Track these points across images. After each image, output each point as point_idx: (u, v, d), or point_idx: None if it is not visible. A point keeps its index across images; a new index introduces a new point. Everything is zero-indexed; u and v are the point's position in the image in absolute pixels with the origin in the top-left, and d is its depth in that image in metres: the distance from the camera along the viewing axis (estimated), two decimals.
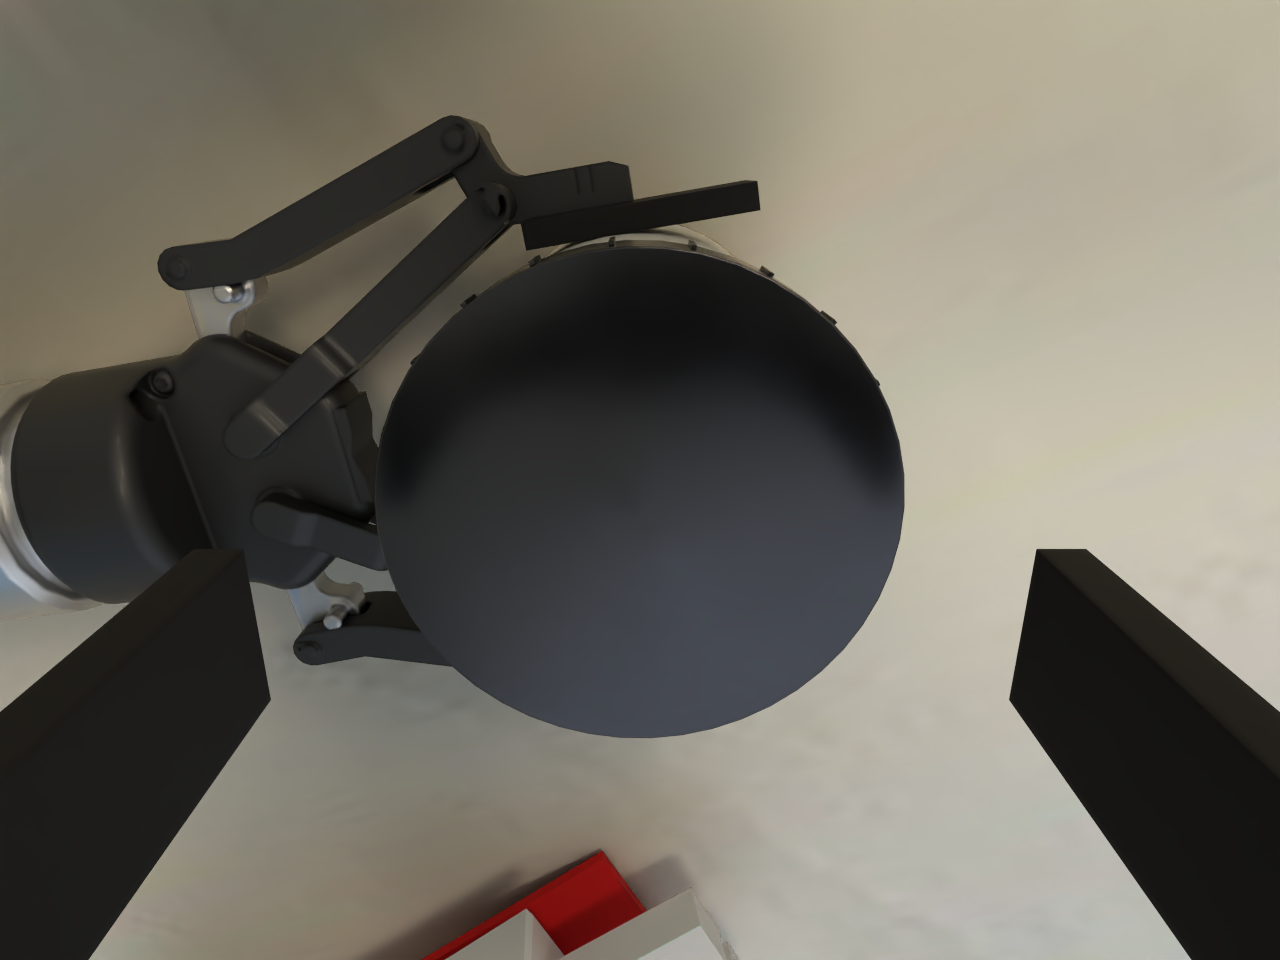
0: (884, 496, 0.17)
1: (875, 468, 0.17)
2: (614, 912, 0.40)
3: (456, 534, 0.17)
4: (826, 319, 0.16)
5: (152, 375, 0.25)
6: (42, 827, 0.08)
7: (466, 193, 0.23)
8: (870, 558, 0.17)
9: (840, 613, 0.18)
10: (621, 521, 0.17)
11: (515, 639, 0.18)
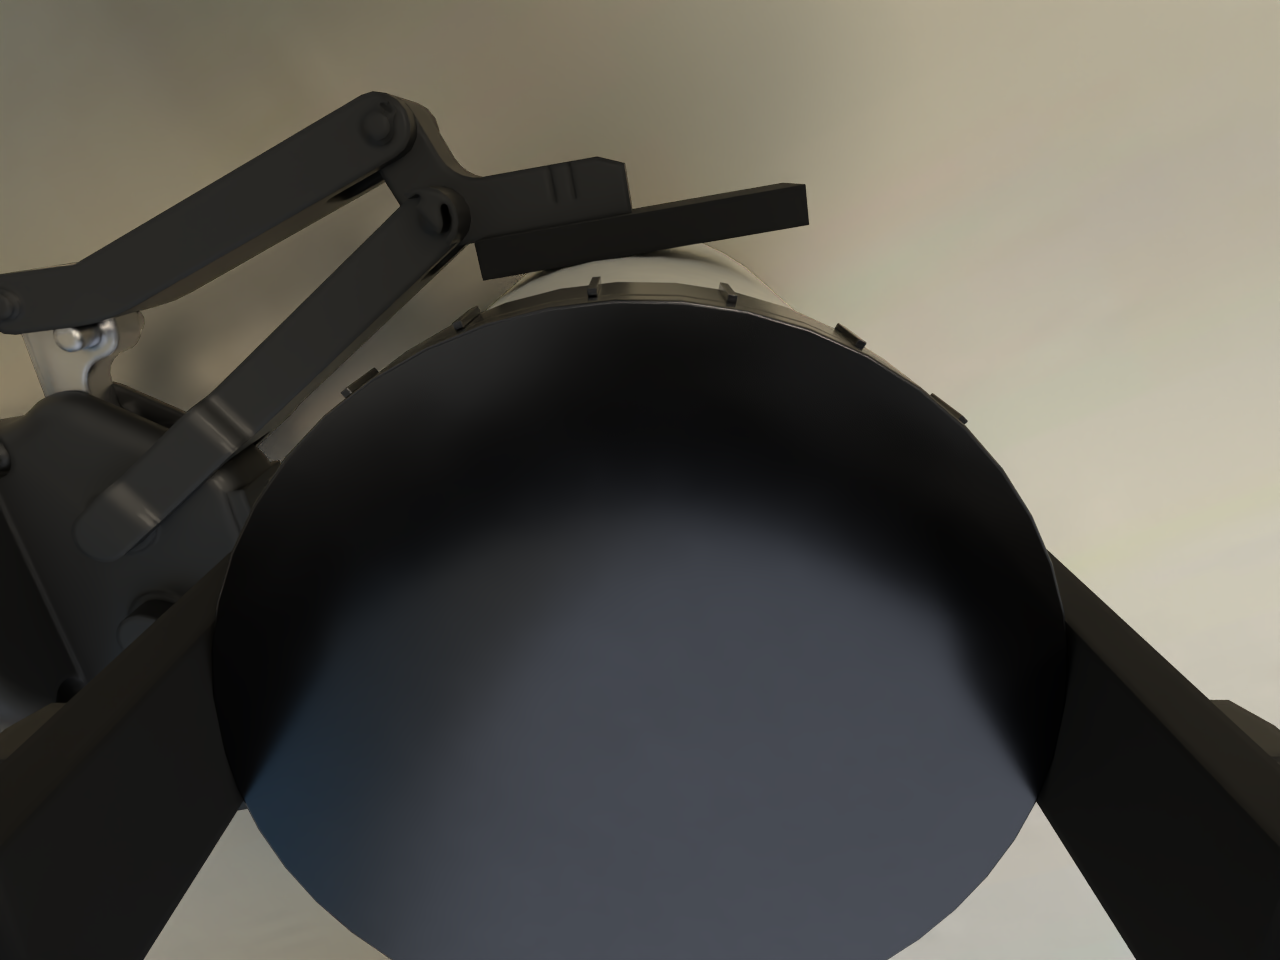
0: (1034, 694, 0.10)
1: (1022, 652, 0.10)
2: None
3: (347, 749, 0.11)
4: (956, 421, 0.09)
5: None
6: (126, 797, 0.09)
7: (400, 201, 0.17)
8: (1005, 784, 0.11)
9: (953, 861, 0.11)
10: (610, 730, 0.11)
11: (447, 896, 0.12)
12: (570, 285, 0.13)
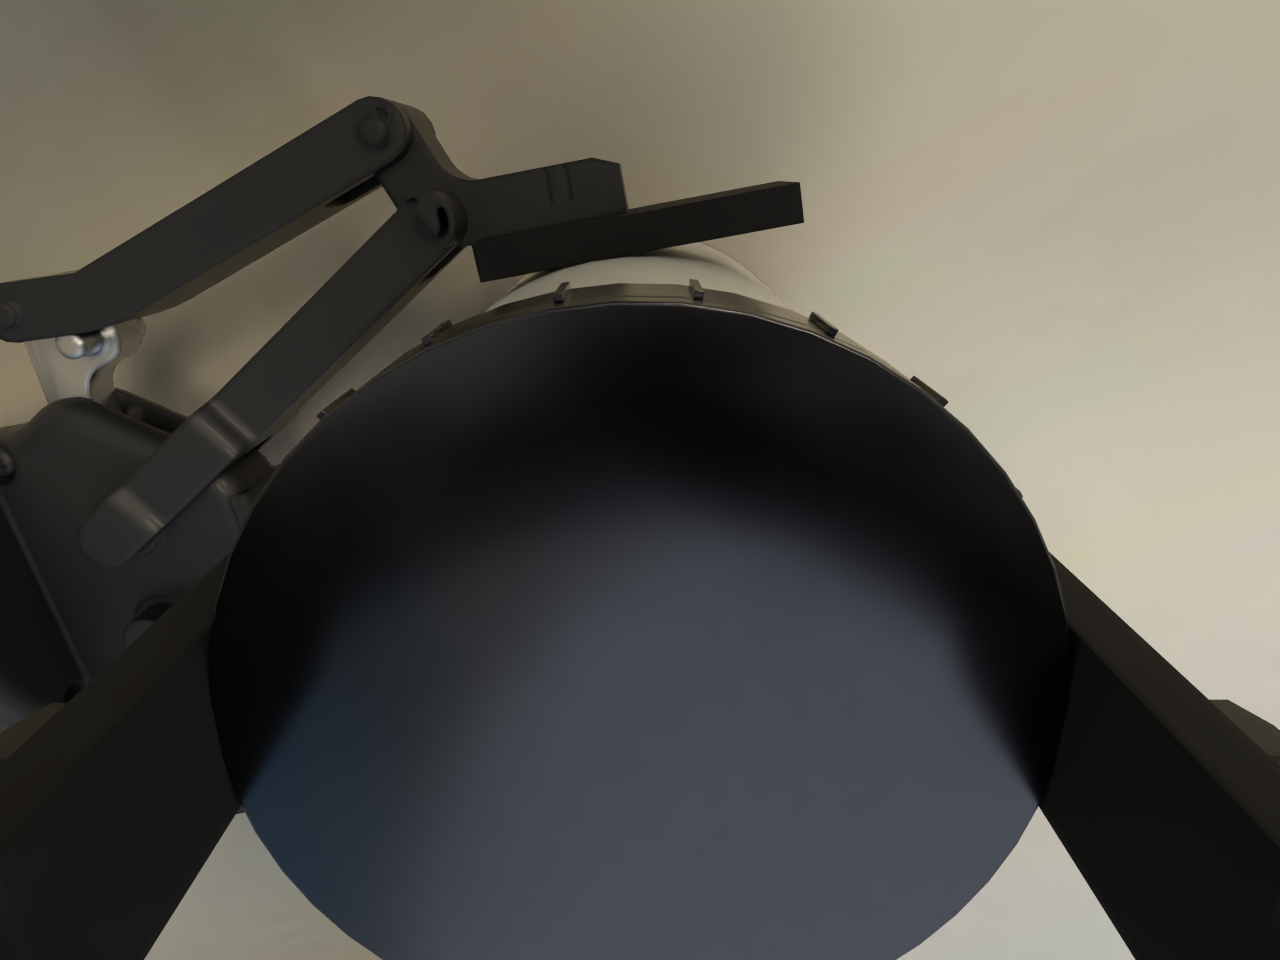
0: (300, 500, 0.10)
1: (286, 547, 0.10)
2: None
3: (850, 879, 0.11)
4: (223, 755, 0.11)
5: None
6: (127, 797, 0.09)
7: (397, 205, 0.17)
8: (387, 427, 0.09)
9: (501, 378, 0.09)
10: (662, 746, 0.11)
11: (945, 725, 0.11)
12: None
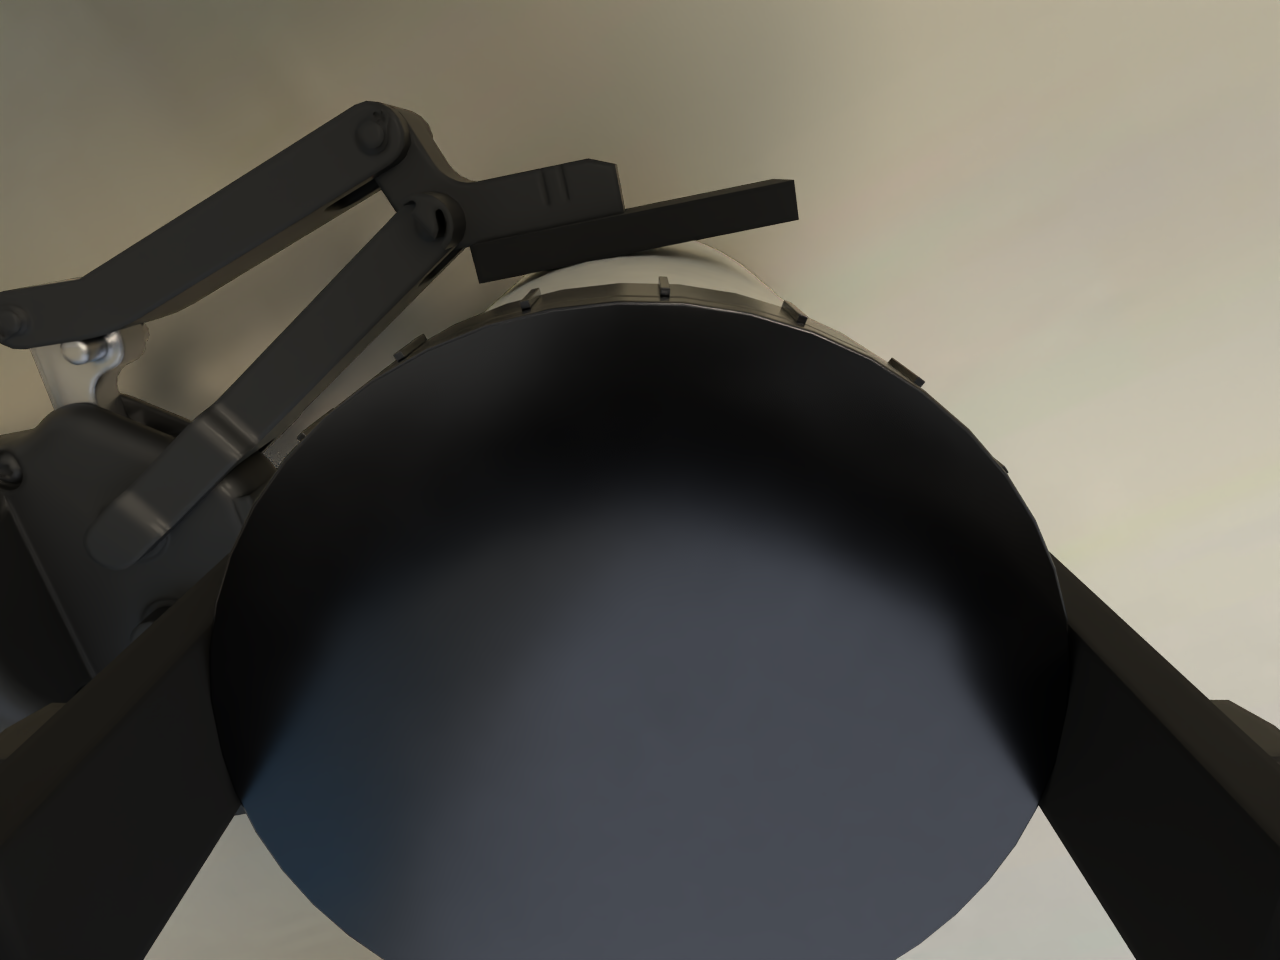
0: None
1: None
2: None
3: (611, 449, 0.09)
4: (925, 937, 0.12)
5: None
6: (126, 797, 0.09)
7: (396, 208, 0.17)
8: None
9: None
10: (636, 706, 0.10)
11: (398, 538, 0.10)
12: (563, 285, 0.13)
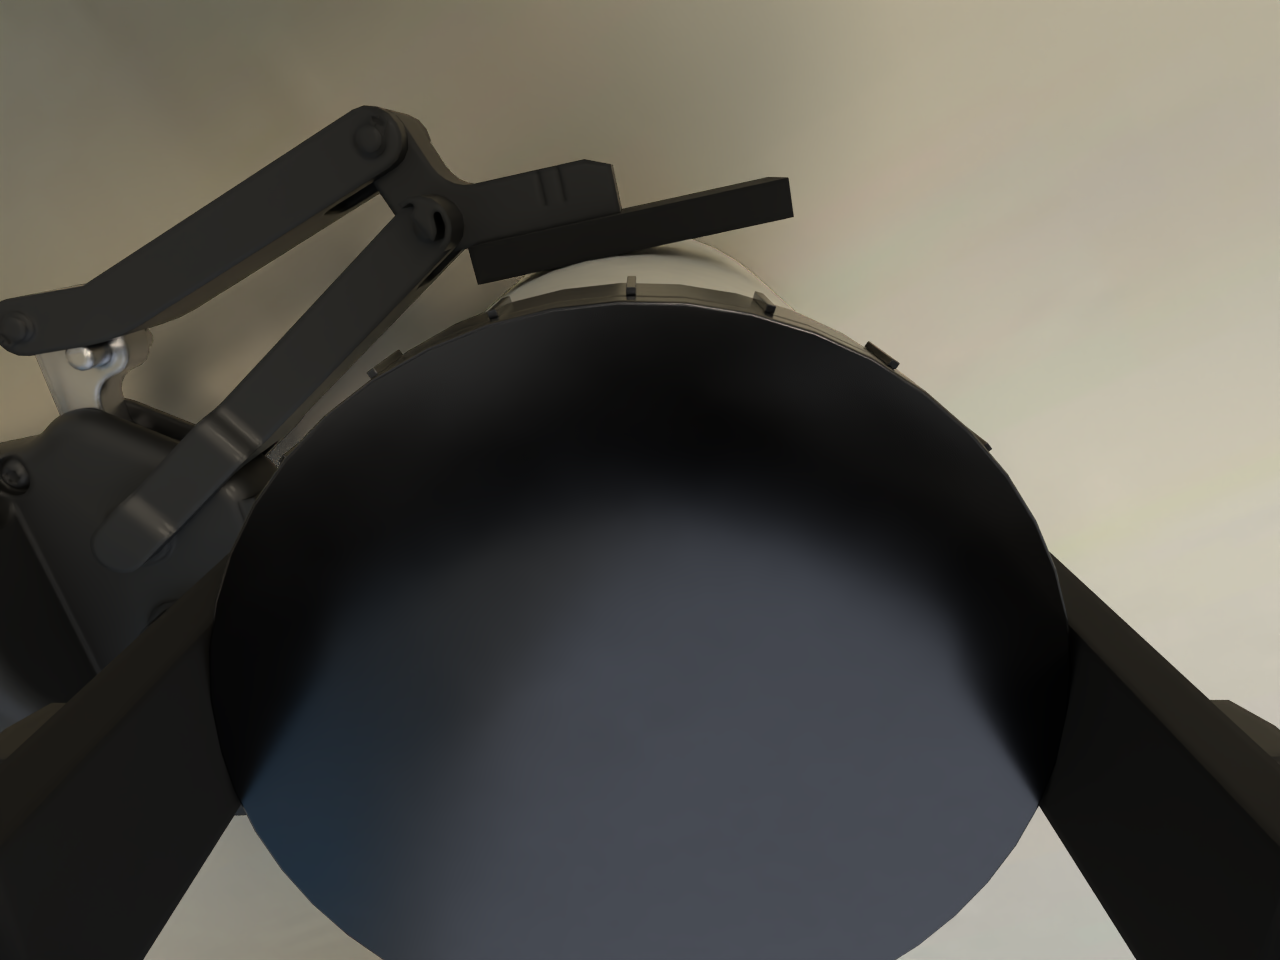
0: (926, 443, 0.09)
1: (875, 420, 0.09)
2: None
3: (464, 904, 0.12)
4: (606, 304, 0.09)
5: (1, 465, 0.19)
6: (125, 797, 0.09)
7: (395, 211, 0.17)
8: (990, 533, 0.10)
9: (1019, 630, 0.10)
10: (622, 750, 0.11)
11: (645, 957, 0.12)
12: (560, 285, 0.14)
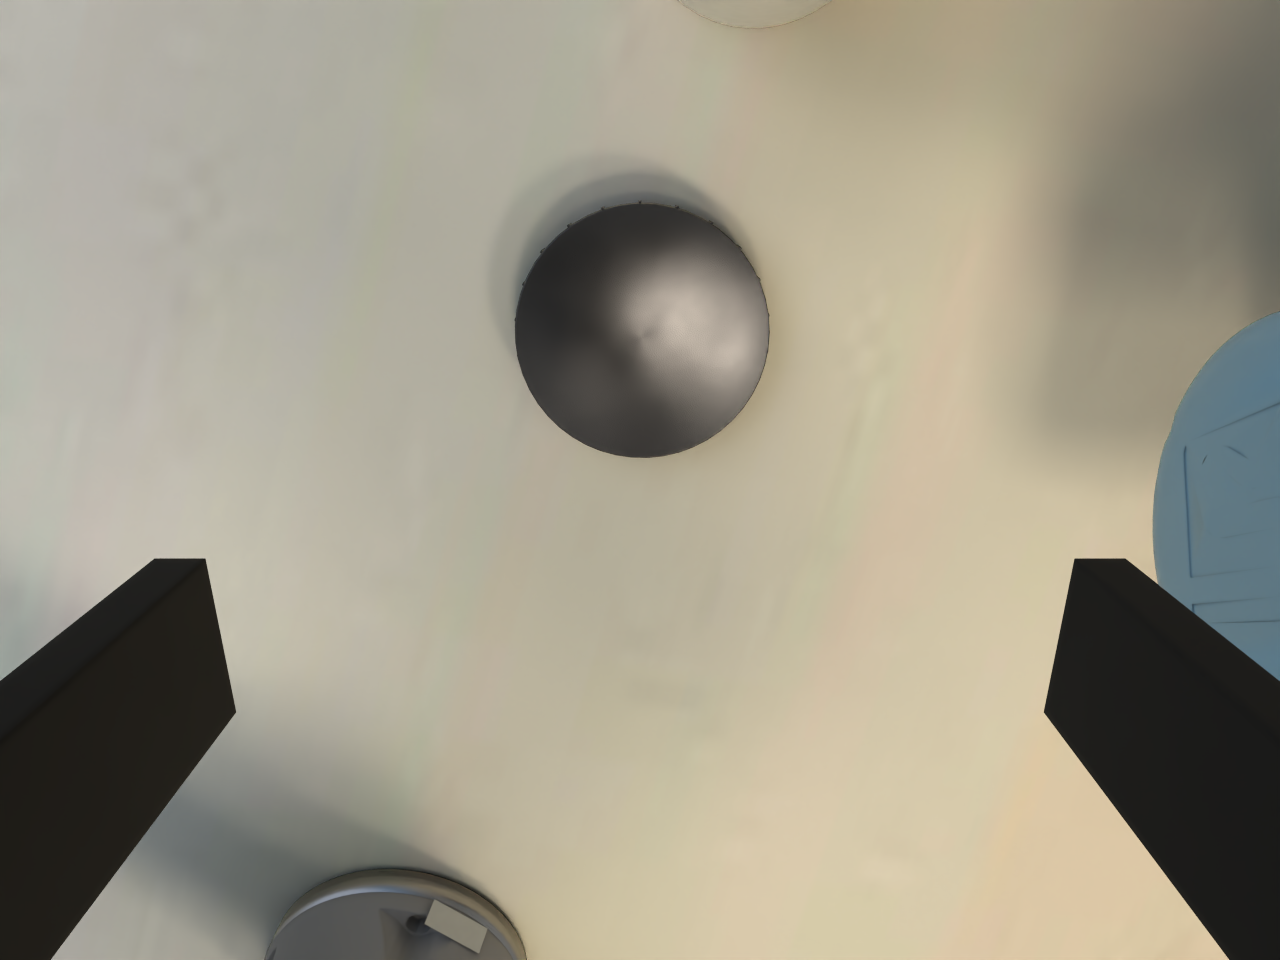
0: (719, 243, 0.34)
1: (705, 237, 0.34)
2: None
3: (586, 403, 0.37)
4: (633, 204, 0.34)
5: None
6: None
7: None
8: (739, 271, 0.35)
9: (751, 302, 0.35)
10: (636, 344, 0.36)
11: (643, 425, 0.37)
12: None
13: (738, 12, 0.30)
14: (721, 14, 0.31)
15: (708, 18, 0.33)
